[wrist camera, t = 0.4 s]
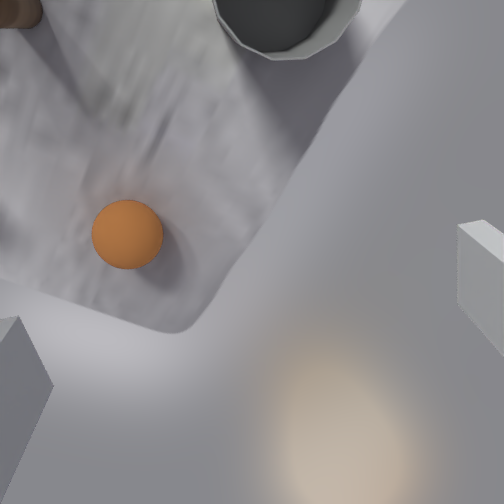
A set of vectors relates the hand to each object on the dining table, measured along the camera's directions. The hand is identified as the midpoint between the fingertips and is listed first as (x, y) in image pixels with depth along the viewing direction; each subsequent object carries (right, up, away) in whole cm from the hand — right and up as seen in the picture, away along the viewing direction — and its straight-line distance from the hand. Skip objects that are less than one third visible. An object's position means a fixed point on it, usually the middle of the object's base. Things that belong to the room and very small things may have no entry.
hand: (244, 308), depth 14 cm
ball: (-10, +3, +23) cm, 26 cm away
